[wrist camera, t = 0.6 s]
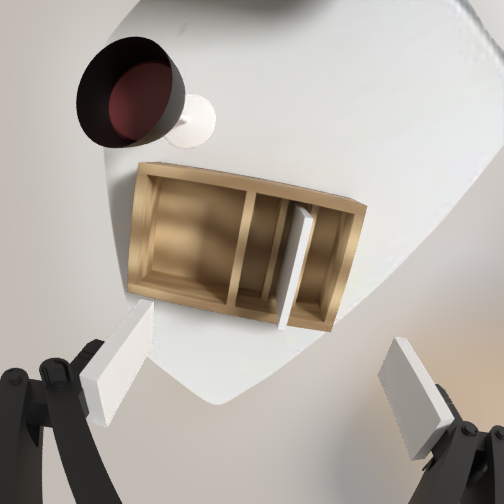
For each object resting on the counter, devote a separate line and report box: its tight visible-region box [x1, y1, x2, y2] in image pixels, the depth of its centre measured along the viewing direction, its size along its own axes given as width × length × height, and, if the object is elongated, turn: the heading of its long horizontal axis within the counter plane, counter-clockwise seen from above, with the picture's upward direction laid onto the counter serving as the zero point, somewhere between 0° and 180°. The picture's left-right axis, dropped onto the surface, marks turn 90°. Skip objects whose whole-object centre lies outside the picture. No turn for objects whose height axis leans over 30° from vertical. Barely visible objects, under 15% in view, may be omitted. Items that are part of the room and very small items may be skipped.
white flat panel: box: [275, 202, 313, 331], centre depth 36 cm, size 12×1×11 cm, turn 169°
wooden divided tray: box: [127, 162, 367, 332], centre depth 38 cm, size 16×26×7 cm, turn 79°
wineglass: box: [76, 37, 216, 149], centre depth 28 cm, size 8×9×20 cm
